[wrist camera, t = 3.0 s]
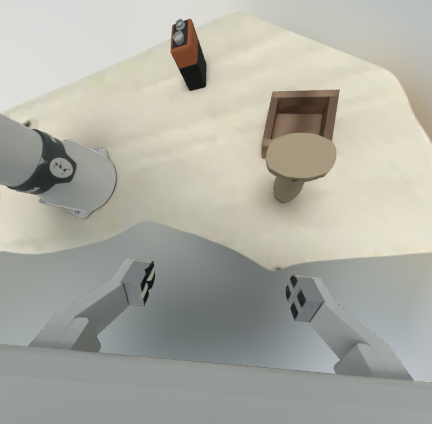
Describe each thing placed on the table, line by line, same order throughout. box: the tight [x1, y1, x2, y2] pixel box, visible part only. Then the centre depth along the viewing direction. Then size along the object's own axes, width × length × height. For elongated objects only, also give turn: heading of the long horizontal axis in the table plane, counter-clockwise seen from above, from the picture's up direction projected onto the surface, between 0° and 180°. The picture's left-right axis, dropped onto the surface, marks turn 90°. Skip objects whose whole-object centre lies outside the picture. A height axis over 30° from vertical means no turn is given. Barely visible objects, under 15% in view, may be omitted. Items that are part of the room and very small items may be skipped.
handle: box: [266, 133, 336, 203], centre depth 24 cm, size 5×6×15 cm
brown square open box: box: [262, 90, 340, 158], centre depth 31 cm, size 10×10×4 cm
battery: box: [171, 19, 206, 90], centre depth 37 cm, size 4×7×10 cm, turn 0°
